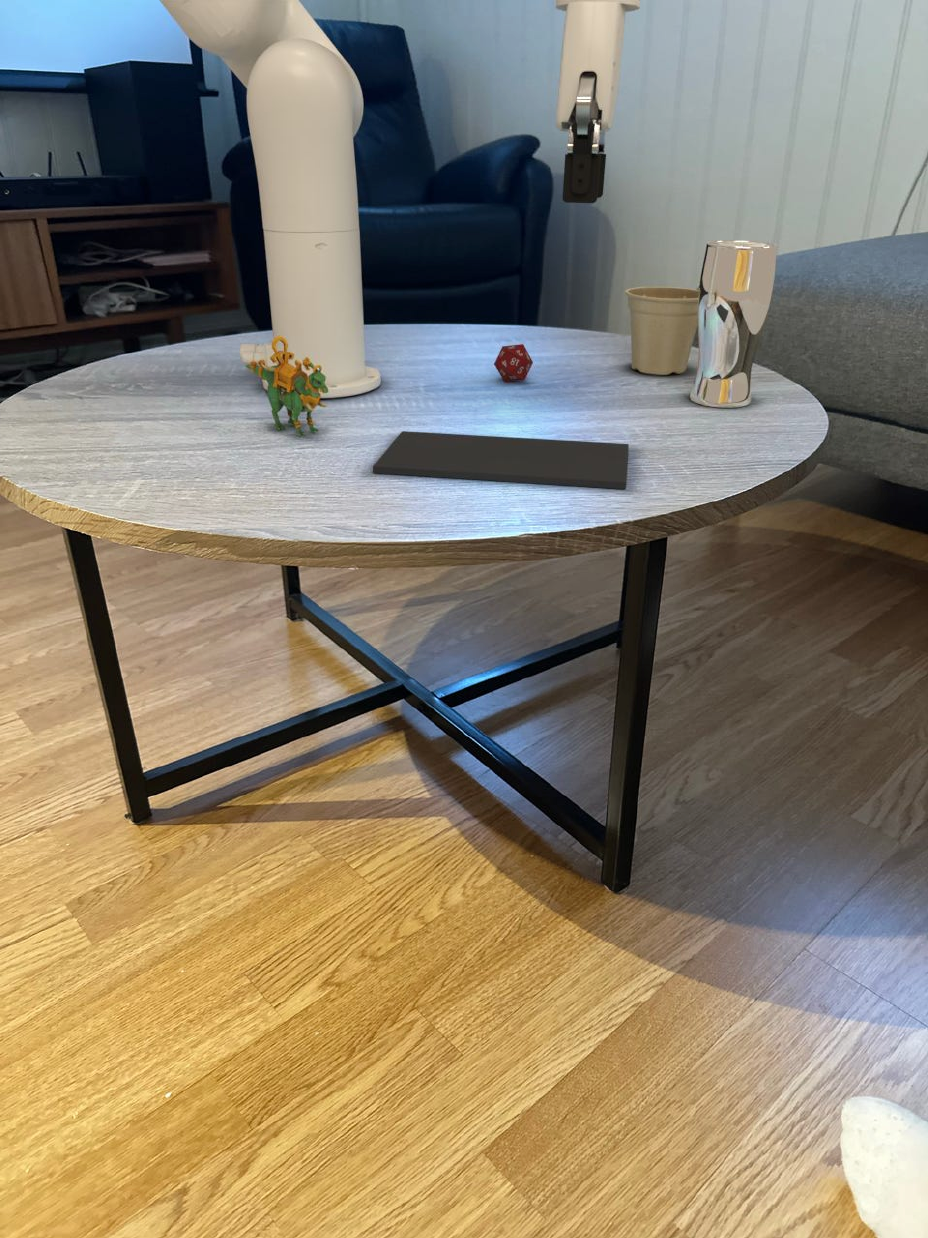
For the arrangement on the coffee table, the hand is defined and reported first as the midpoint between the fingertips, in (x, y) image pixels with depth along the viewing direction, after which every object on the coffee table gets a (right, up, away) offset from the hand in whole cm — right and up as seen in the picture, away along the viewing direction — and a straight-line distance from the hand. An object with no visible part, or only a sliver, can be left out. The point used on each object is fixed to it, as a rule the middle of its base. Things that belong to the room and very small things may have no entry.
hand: (583, 199), depth 89 cm
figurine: (-28, -24, -5) cm, 37 cm away
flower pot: (+11, -12, +17) cm, 23 cm away
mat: (-8, -28, -14) cm, 32 cm away
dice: (-6, -15, +11) cm, 20 cm away
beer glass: (+15, -19, +4) cm, 24 cm away
